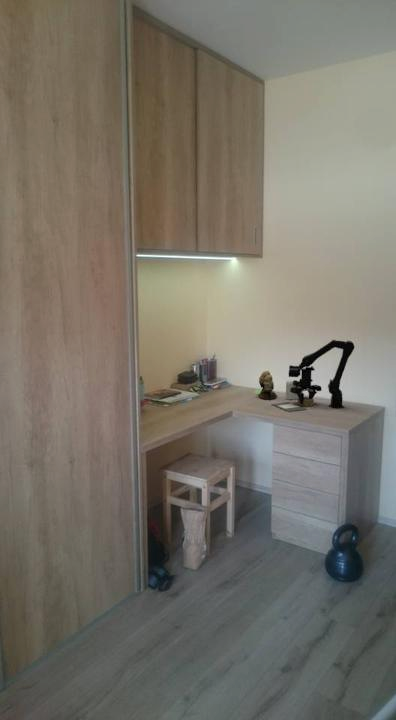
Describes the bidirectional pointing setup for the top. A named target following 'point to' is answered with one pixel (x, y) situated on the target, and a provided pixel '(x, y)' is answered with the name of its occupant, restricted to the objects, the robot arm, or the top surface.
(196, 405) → the top surface
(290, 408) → the picture frame
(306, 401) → the walnut card box
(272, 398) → the bust sculpture
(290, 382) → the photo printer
